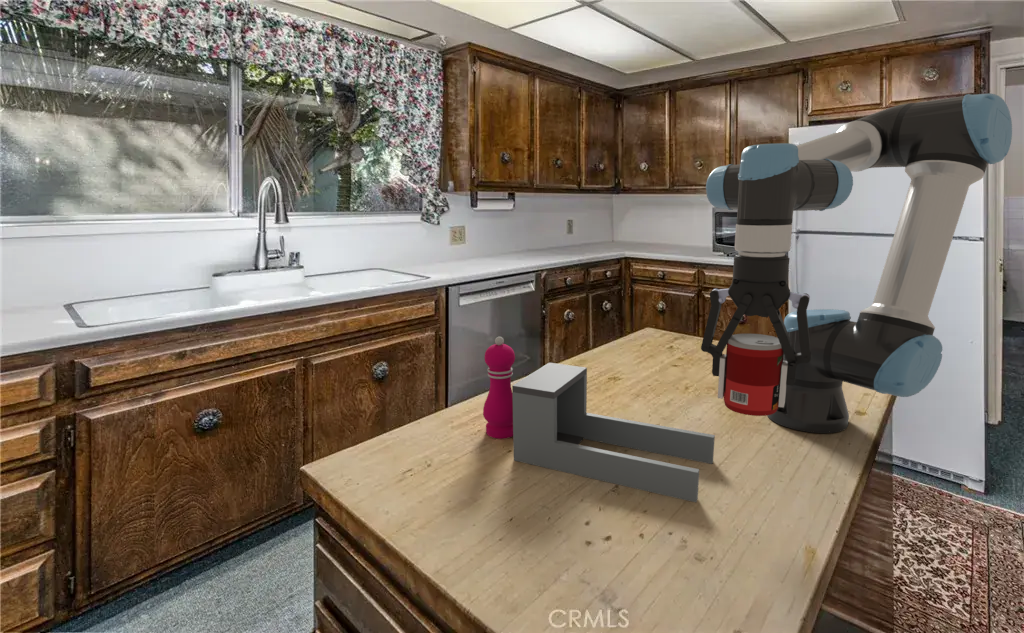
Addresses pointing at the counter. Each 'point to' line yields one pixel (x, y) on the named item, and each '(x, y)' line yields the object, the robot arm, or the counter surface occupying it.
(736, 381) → the canned food
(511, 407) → the pepper mill
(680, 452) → the trap channel
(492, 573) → the counter surface
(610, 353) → the counter surface
